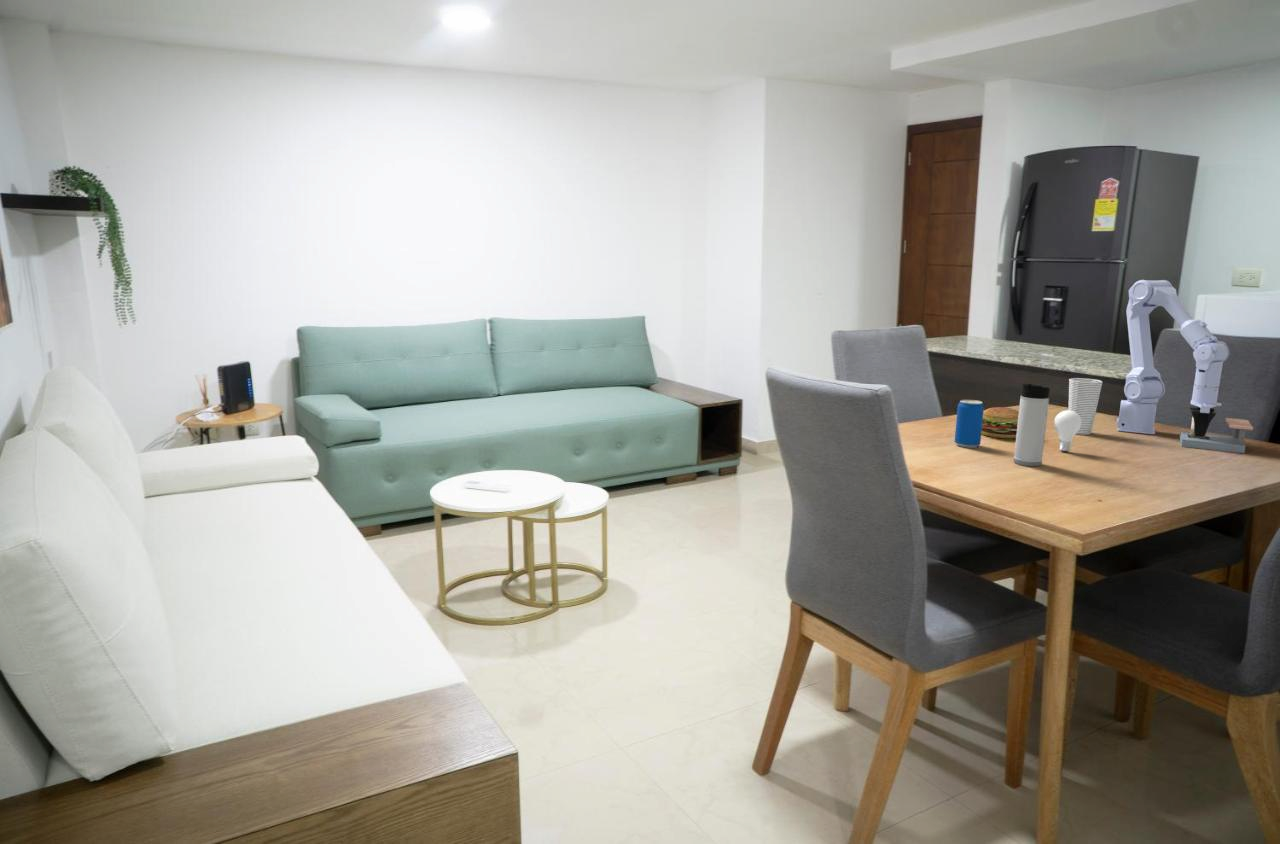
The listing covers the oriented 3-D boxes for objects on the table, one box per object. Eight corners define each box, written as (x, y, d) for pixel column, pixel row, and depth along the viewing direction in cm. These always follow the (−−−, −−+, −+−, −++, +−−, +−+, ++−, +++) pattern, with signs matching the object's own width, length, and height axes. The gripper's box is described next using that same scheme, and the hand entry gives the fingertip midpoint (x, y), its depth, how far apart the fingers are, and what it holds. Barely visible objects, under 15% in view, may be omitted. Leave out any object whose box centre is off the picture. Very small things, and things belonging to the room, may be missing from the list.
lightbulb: (1052, 447, 222) (1056, 407, 220) (1078, 451, 219) (1083, 409, 217) (1049, 452, 217) (1054, 410, 215) (1077, 455, 214) (1082, 413, 211)
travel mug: (1006, 461, 206) (1015, 381, 202) (1027, 459, 208) (1036, 380, 204) (1026, 467, 200) (1035, 385, 196) (1047, 465, 203) (1056, 384, 199)
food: (981, 439, 232) (983, 411, 230) (970, 429, 245) (973, 402, 244) (1033, 442, 229) (1036, 413, 228) (1020, 431, 243) (1023, 405, 241)
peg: (1190, 443, 229) (1194, 414, 227) (1188, 441, 232) (1191, 412, 231) (1206, 444, 227) (1209, 415, 226) (1203, 442, 231) (1207, 413, 229)
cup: (1100, 436, 237) (1107, 382, 234) (1068, 435, 239) (1075, 381, 236) (1089, 430, 246) (1096, 378, 243) (1058, 429, 247) (1065, 377, 244)
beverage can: (975, 443, 226) (980, 399, 224) (983, 448, 220) (987, 404, 217) (951, 442, 227) (955, 399, 224) (957, 447, 220) (962, 403, 218)
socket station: (1181, 446, 226) (1185, 421, 225) (1179, 438, 237) (1182, 414, 236) (1249, 453, 219) (1253, 427, 217) (1243, 444, 230) (1247, 419, 228)
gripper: (1226, 391, 218) (1218, 441, 221) (1221, 384, 231) (1214, 432, 233) (1194, 388, 222) (1187, 438, 225) (1191, 381, 234) (1184, 429, 237)
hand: (1198, 434), depth 229 cm, fingers closed on peg, 4 cm apart
